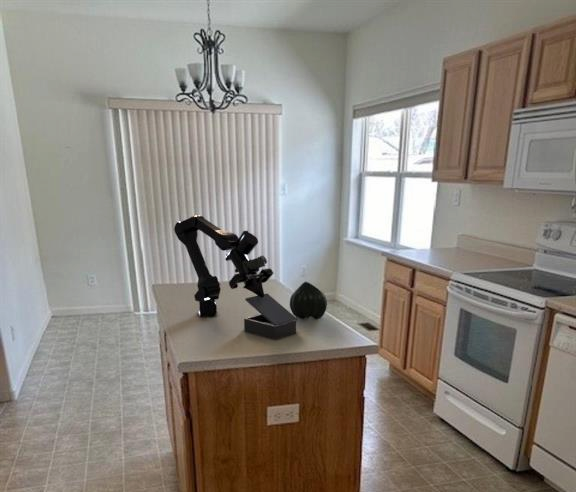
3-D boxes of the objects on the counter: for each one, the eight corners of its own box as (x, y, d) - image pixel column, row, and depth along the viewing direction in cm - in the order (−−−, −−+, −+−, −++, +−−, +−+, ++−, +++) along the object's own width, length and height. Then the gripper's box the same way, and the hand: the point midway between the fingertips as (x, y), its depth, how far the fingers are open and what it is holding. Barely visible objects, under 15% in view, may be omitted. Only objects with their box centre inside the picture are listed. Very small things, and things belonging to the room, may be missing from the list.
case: (244, 330, 199) (244, 318, 197) (265, 324, 207) (265, 312, 205) (275, 339, 189) (275, 326, 187) (296, 332, 197) (296, 320, 196)
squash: (323, 311, 206) (326, 277, 211) (285, 310, 208) (289, 277, 213) (326, 327, 219) (329, 295, 224) (290, 326, 222) (294, 294, 227)
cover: (244, 299, 194) (245, 298, 193) (266, 294, 202) (267, 293, 202) (275, 326, 188) (275, 324, 187) (296, 320, 196) (296, 318, 195)
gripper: (233, 251, 186) (256, 287, 183) (269, 246, 199) (291, 280, 196) (219, 271, 193) (240, 306, 191) (254, 265, 207) (275, 297, 204)
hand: (263, 296), depth 195 cm, fingers closed
